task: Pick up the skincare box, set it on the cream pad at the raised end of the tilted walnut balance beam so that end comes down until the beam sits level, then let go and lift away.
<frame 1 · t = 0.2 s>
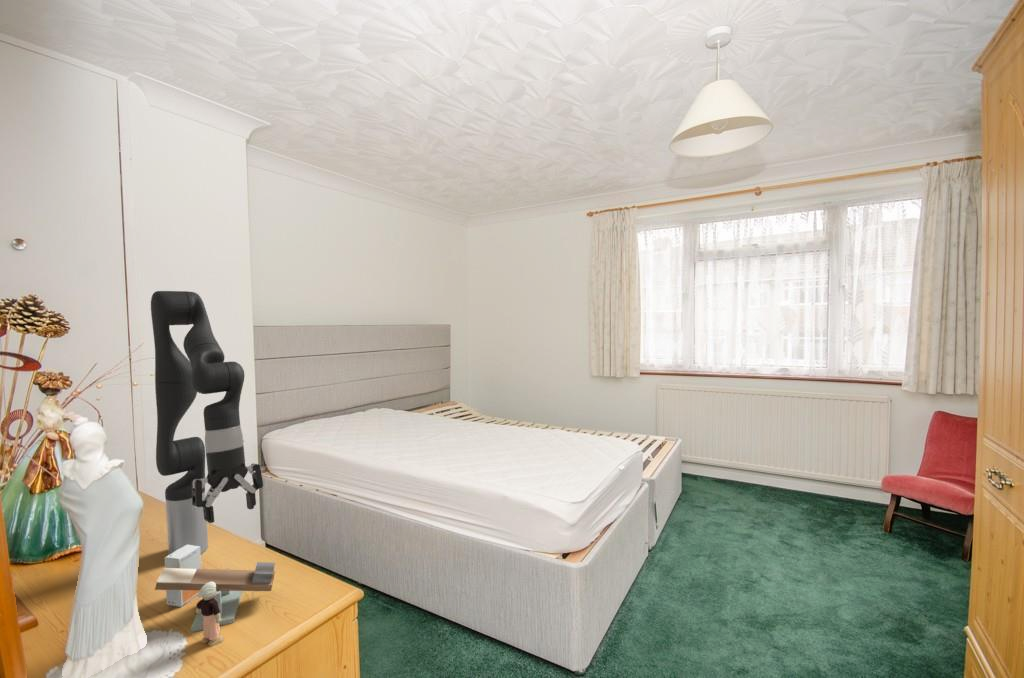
hand: (231, 515, 105), 22 cm above the dresser, tool pointing down, fingers open, 8 cm apart
grandmother figurine: (211, 640, 96), on the dresser
skincare box: (185, 599, 109), on the dresser
beam stand: (218, 610, 105), on the dresser
beam: (219, 577, 104), point 8 cm above the dresser, hinge at -15.0°
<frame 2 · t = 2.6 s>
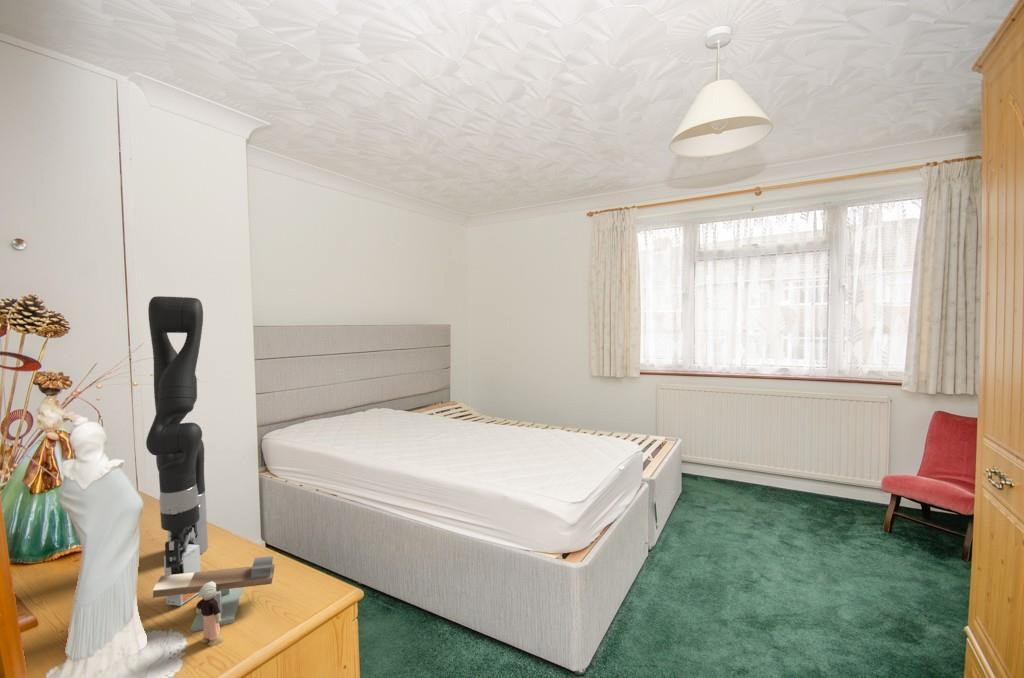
hand: (184, 569, 109), 7 cm above the dresser, tool pointing down, fingers open, 8 cm apart
skincare box: (185, 598, 109), on the dresser, touching gripper
beam: (217, 577, 104), point 8 cm above the dresser, hinge at -6.0°, touching gripper
everything else where it was.
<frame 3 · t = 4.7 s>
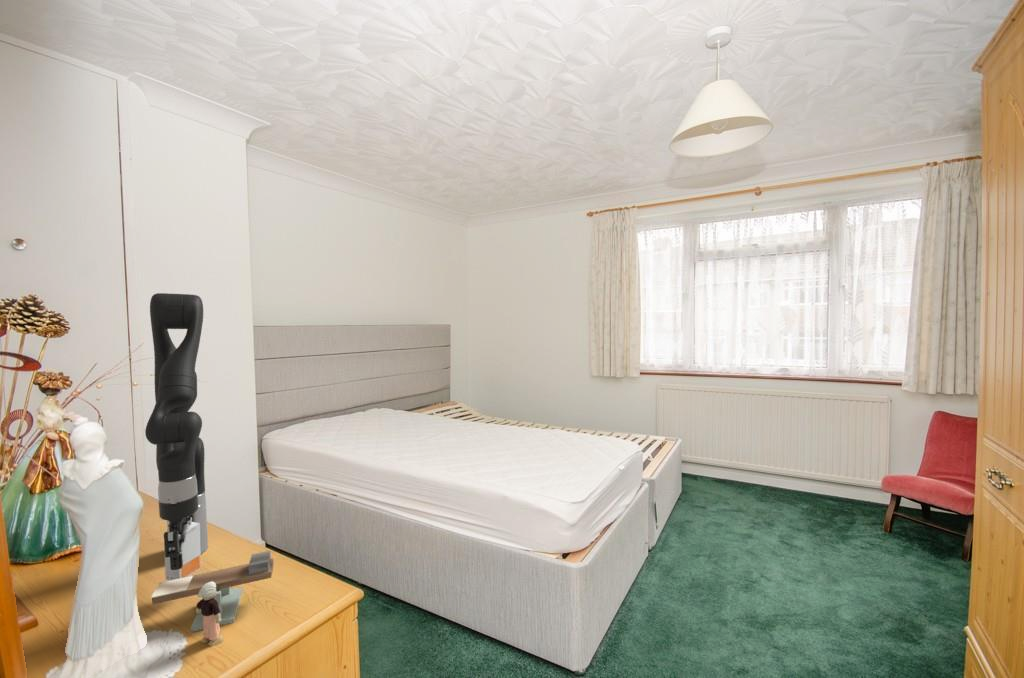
hand: (181, 559, 108), 10 cm above the dresser, tool pointing down, fingers closed on skincare box, 7 cm apart
skincare box: (184, 575, 109), point 6 cm above the dresser, touching gripper
beam: (216, 578, 104), point 8 cm above the dresser, hinge at 1.8°
everything else where it was.
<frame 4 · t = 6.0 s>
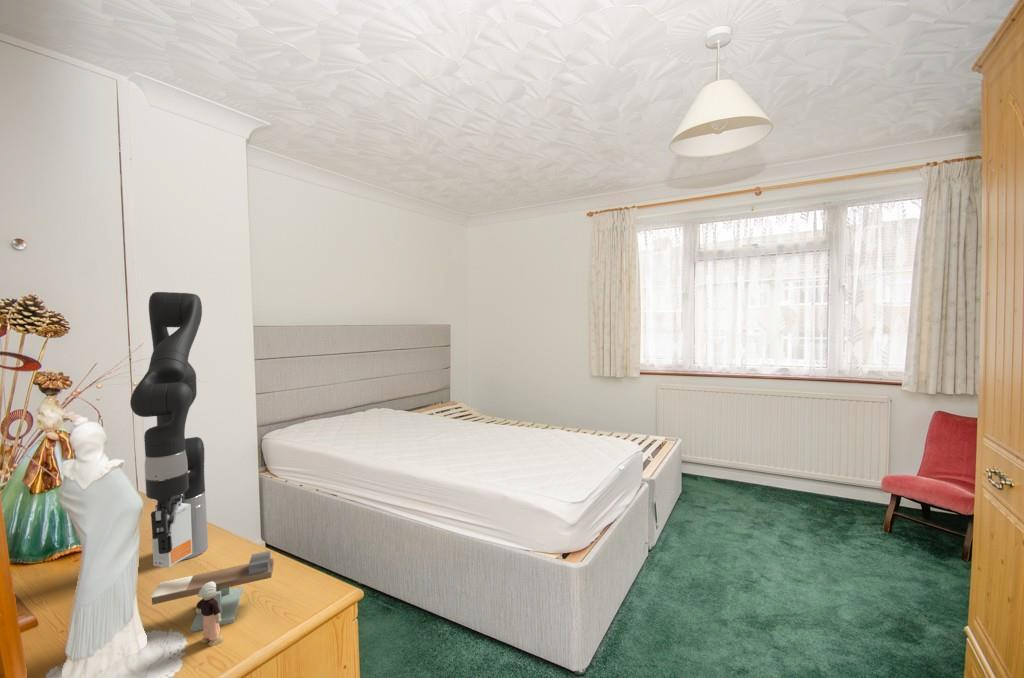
hand: (171, 543, 100), 18 cm above the dresser, tool pointing down, fingers closed on skincare box, 7 cm apart
skincare box: (174, 560, 101), point 14 cm above the dresser, touching gripper
everything else where it was.
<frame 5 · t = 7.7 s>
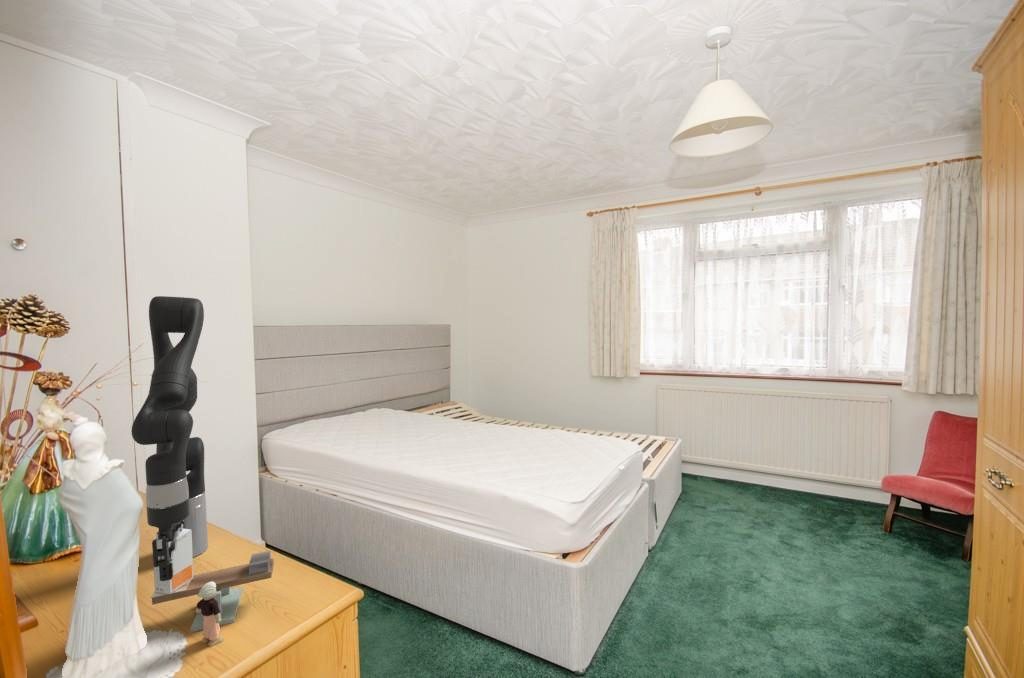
hand: (172, 569, 101), 12 cm above the dresser, tool pointing down, fingers closed on skincare box, 7 cm apart
skincare box: (175, 586, 101), point 8 cm above the dresser, touching beam, gripper
beam: (216, 578, 104), point 8 cm above the dresser, hinge at 1.6°, touching skincare box
everything else where it was.
when the fingers open (12 cm above the dresser, at t = 8.7 s): skincare box stays where it is, resting on beam.
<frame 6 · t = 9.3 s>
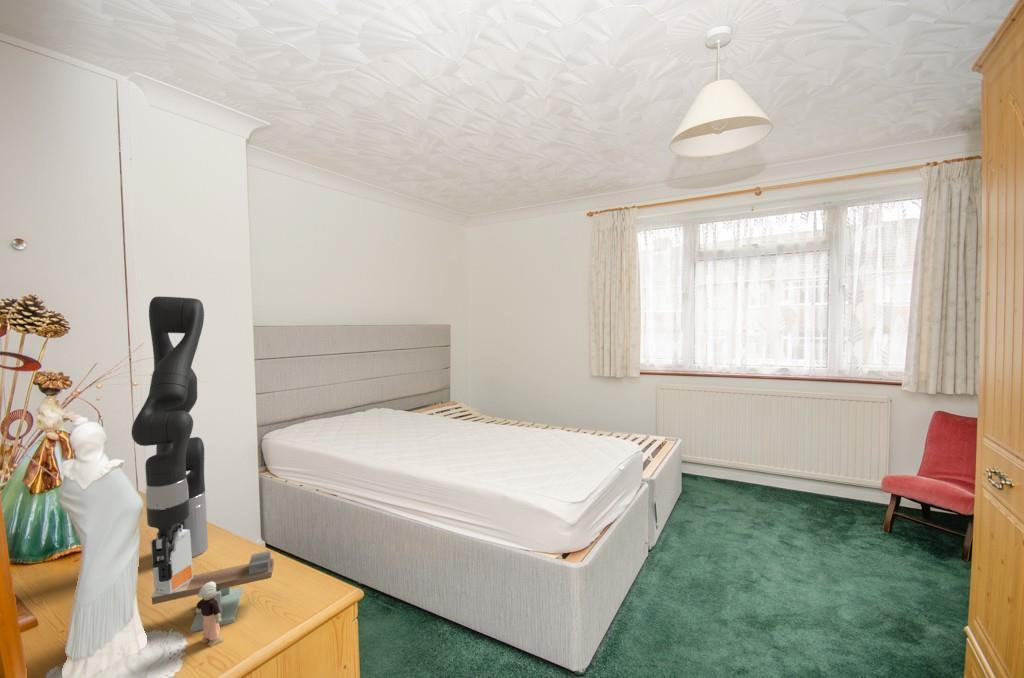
hand: (172, 569, 101), 12 cm above the dresser, tool pointing down, fingers open, 8 cm apart
skincare box: (175, 586, 101), point 8 cm above the dresser, touching beam
everything else where it was.
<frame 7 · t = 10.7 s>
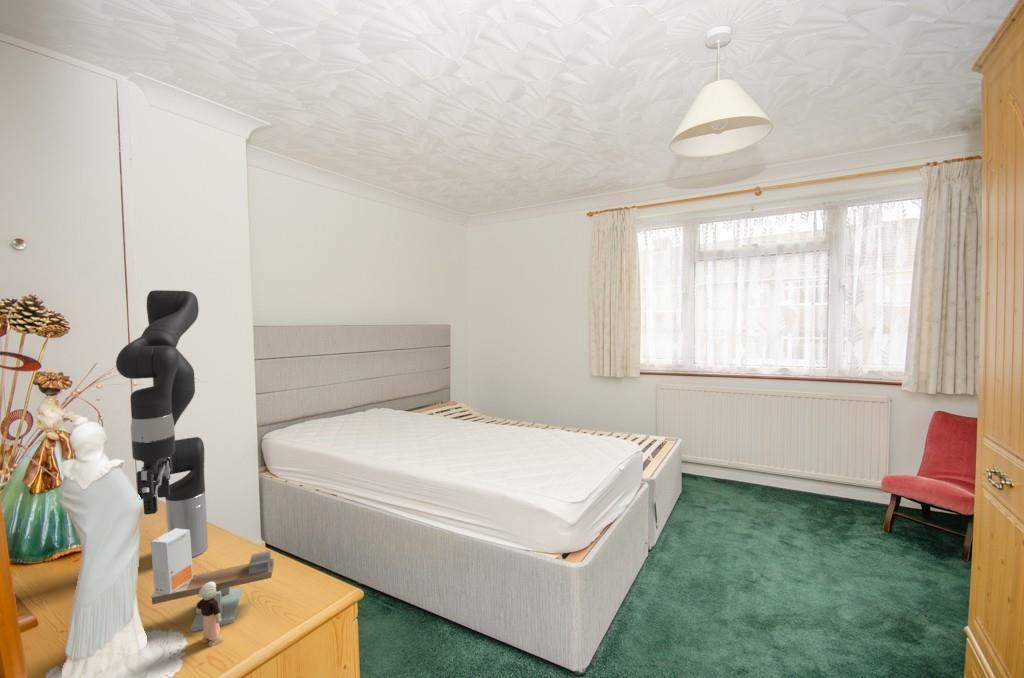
hand: (157, 504, 101), 27 cm above the dresser, tool pointing down, fingers open, 8 cm apart
nothing on the dresser moved.
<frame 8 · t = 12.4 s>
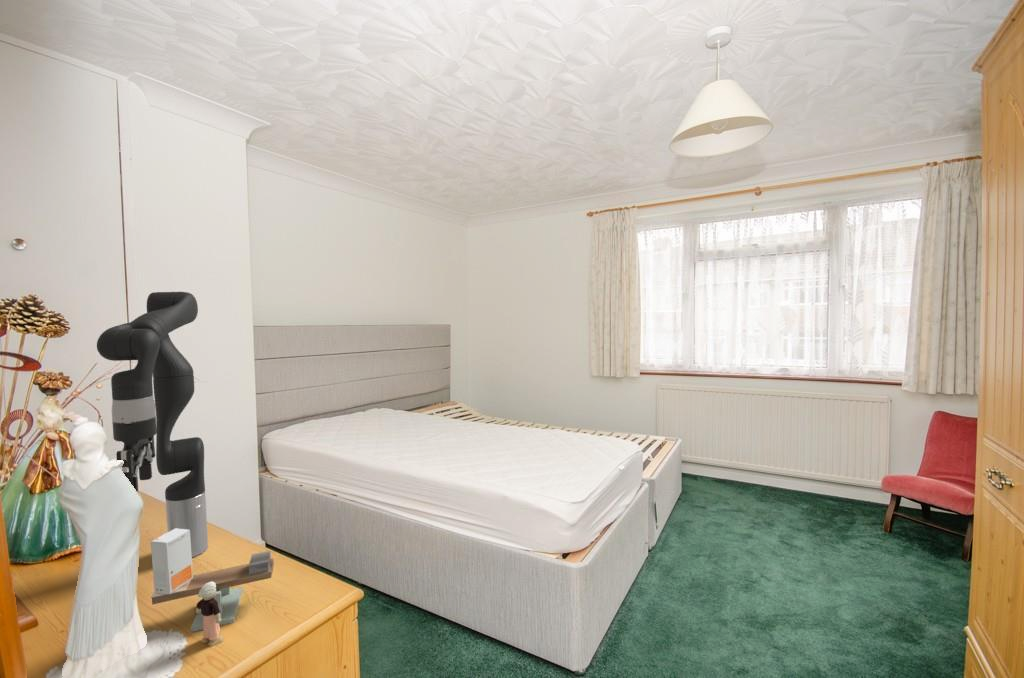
hand: (138, 486, 102), 30 cm above the dresser, tool pointing down, fingers open, 8 cm apart
skincare box: (175, 586, 101), point 8 cm above the dresser
beam: (216, 578, 104), point 8 cm above the dresser, hinge at 1.5°
everything else where it was.
at the end: beam at +2° (first picture: -15°); skincare box inside the target area on the beam (0.4 cm from its centre), point 1.9 cm above the beam's base; skincare box tilted 1° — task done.
